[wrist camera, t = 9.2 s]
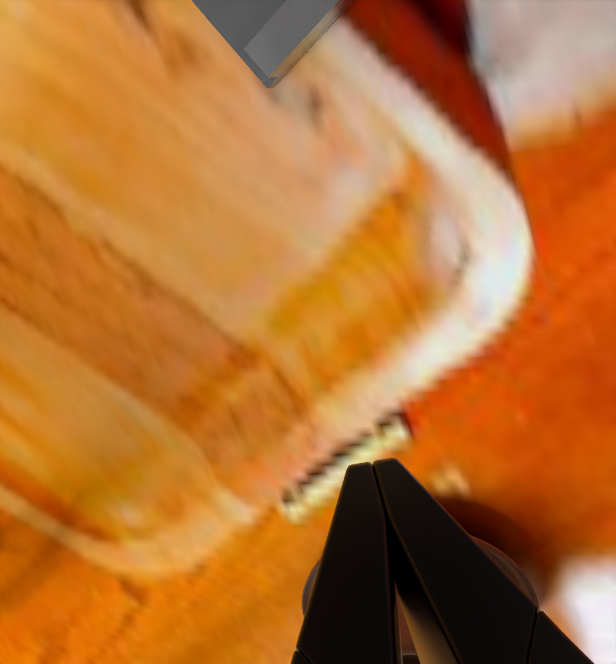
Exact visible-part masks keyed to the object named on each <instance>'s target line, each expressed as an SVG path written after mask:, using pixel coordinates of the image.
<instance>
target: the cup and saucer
mask: <svg viewBox="0 0 616 664" xmlns="http://www.w3.org/2000/svg"><path fill="white" fill-rule="evenodd" d="M470 536H471V535H470ZM471 537H472V538H473V539H474V540H475V541H476V542H477V543H478V544H479V545H480V546H481V547H482V548H483V549H484V550H485V552H486V553H487V554H488V555H489V556H490V557H491V558H492V559H493V560H494V561H495V562H496V563H497V564H498V565H499V566H500V567H501V568H502V569H503V570H504V571H505V572H506V574H507V575H508V576H509V577H510V578H511V579H512V580H513V581H514V582H515V583H516V584H517V585H518V586H519V587H520V588H521V589H522V590H523V591H524V592H525V593H526V595H527V596H528V597H529V598H530V599H531V600H532V601H533V602H534V603H535V604H536V605H537V606H538V601H537V597H536V594H535V592H534V590H533V587H532V585H531V584H530V582H529V580H528V579H527V577H526V575H525V574H524V572H523V571H522V570H521V569H520V567H519V566H518V565H517V564H516V563H515V562H514V561H513V560H512V559H511V558H510V557H508V556H507V555H506V554H505V553H503V552H502V551H501V550H499V549H498V548H496V547H494V546H493V545H491V544H489V543H487V542H485V541H483V540H481V539H479V538H476V537H474V536H471ZM320 561H321V559H320V560H319V561H318V562H317V563H316V565H315V566H314V567H313V569H312V571H311V573H310V574H309V576H308V579H307V581H306V584H305V587H304V590H303V596H302V610H303V615H304V616H305V613H306V609H307V606H308V602H309V599H310V595H311V592H312V588H313V585H314V582H315V578H316V575H317V571H318V568H319V564H320ZM395 589H396V586H395ZM396 597H397V605H398V615H399V626H400V637H401V648H402V659H403V664H420V661H419V658H418V655H417V652H416V649H415V646H414V643H413V640H412V637H411V634H410V631H409V628H408V625H407V622H406V619H405V616H404V613H403V610H402V607H401V604H400V600H399V597H398V594H397V590H396ZM538 611H539V606H538Z"/></svg>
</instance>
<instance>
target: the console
mask: <svg viewBox="0 0 616 664" xmlns="http://www.w3.org/2000/svg"><path fill="white" fill-rule="evenodd" d="M192 1H193V3H194V4H195V5H196V6H197V7H198V8H199V9H200V11H201V12H202V13H203V14H204V15H205V16H206V18H207V19H208V20H209V21H210V22H211V23H212V25H213V26H214V27H215V28H216V29H217V30H218V32H219V33H220V34H221V35H222V36H223V37H224V38H225V40H226V41H227V42H228V43H229V44H230V45H231V47H232V48H233V49H234V50H235V51H236V52H237V54H238V55H239V56H240V57H241V58H242V59H243V61H244V62H245V63H246V64H247V65H248V66H249V67H250V69H251V70H252V71H253V72H254V73H255V74H256V76H257V77H258V78H259V79H260V80H261V81H262V83H263V84H264V85H265V86H266V87H267V88H271V87H274V86H275V85H276V84H277V83H278V82H279V81H280V80H281V79H282V78H283V77H284V75H285V74H286V73H287V72H288V71H289V70H290V69H291V68H292V67H293V66H294V65H295V64H296V63H297V62H298V60H299V59H300V58H301V57H302V56H303V55H304V54H305V53H306V52H307V51H308V50H309V49H310V48H311V47H312V46H313V44H314V43H315V42H316V41H317V40H318V39H319V38H320V37H321V36H322V35H323V34H324V33H325V32H326V31H327V29H328V28H329V27H330V26H331V25H332V24H333V23H334V22H335V21H336V20H337V19H338V18H339V17H340V16H341V15H342V13H343V12H344V11H345V10H346V9H347V8H348V7H349V6H350V5H351V4H352V3H353V2H354V1H355V0H192Z"/></svg>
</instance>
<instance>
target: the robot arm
mask: <svg viewBox="0 0 616 664" xmlns="http://www.w3.org/2000/svg"><path fill="white" fill-rule="evenodd" d="M395 586H396V589H395ZM396 590H397V594H398V597H399V600H400V604H401V607H402V610H403V613H404V616H405V619H406V622H407V625H408V628H409V631H410V634H411V637H412V640H413V643H414V646H415V649H416V652H417V655H418V658H419V661H420V664H594V663H593V662H592V661H591V660H590V659H589V658H588V657H587V656H586V655H585V654H584V653H583V652H582V651H581V650H580V649H579V648H578V647H577V646H576V645H575V644H574V643H573V642H572V641H571V640H570V639H569V638H568V637H567V636H566V635H565V634H564V633H563V632H562V631H561V630H560V629H559V628H558V627H557V626H556V625H555V624H554V623H553V621H552V620H551V619H550V618H549V617H548V616H547V615H546V614H545V613H544V612H543V611H538V606H537V605H536V604H535V603H534V602H533V601H532V600H531V599H530V598H529V597H528V596H527V595H526V593H525V592H524V591H523V590H522V589H521V588H520V587H519V586H518V585H517V584H516V583H515V582H514V581H513V580H512V579H511V578H510V577H509V576H508V575H507V574H506V572H505V571H504V570H503V569H502V568H501V567H500V566H499V565H498V564H497V563H496V562H495V561H494V560H493V559H492V558H491V557H490V556H489V555H488V554H487V553H486V552H485V550H484V549H483V548H482V547H481V546H480V545H479V544H478V543H477V542H476V541H475V540H474V539H473V538H472V537H471V536H470V535H469V534H468V533H467V532H466V531H465V529H464V528H463V527H462V526H461V525H460V524H459V523H458V522H457V521H456V520H455V519H454V518H453V517H452V516H451V515H450V514H449V513H448V512H447V511H446V510H445V508H444V507H443V506H442V505H441V504H440V503H439V502H438V501H437V500H436V499H435V498H434V497H433V496H432V495H431V494H430V493H429V492H428V491H427V490H426V489H425V488H424V486H423V485H422V484H421V483H420V482H419V481H418V480H417V479H416V478H415V477H414V476H413V475H412V474H411V473H410V472H409V471H408V470H407V469H406V468H405V467H404V465H403V464H402V463H401V462H400V461H399V460H398V459H396V458H388V459H382V460H376V461H374V462H373V466H372V464H371V463H370V462H365V463H359V464H353V465H350V466H348V468H347V470H346V474H345V477H344V480H343V484H342V487H341V491H340V494H339V498H338V501H337V505H336V508H335V512H334V515H333V519H332V522H331V526H330V529H329V533H328V536H327V540H326V543H325V547H324V550H323V554H322V557H321V561H320V564H319V568H318V571H317V575H316V578H315V582H314V585H313V588H312V592H311V595H310V599H309V602H308V606H307V609H306V613H305V616H304V620H303V623H302V627H301V630H300V634H299V637H298V641H297V644H296V649H297V650H296V651H295V652H294V654H293V657H292V661H291V664H403V659H402V648H401V637H400V626H399V615H398V605H397V597H396Z"/></svg>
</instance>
